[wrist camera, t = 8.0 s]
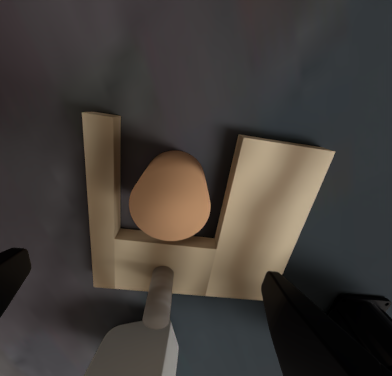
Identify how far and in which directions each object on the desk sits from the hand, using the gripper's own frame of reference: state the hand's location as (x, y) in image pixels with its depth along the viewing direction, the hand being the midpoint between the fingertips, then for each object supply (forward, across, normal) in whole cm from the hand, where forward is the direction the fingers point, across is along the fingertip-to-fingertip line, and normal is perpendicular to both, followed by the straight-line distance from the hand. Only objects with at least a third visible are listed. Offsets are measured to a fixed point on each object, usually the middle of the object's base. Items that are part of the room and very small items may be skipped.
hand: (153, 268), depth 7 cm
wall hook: (+10, 0, +23) cm, 25 cm away
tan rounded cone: (+10, 0, 0) cm, 10 cm away
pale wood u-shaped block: (+10, -3, +4) cm, 11 cm away
